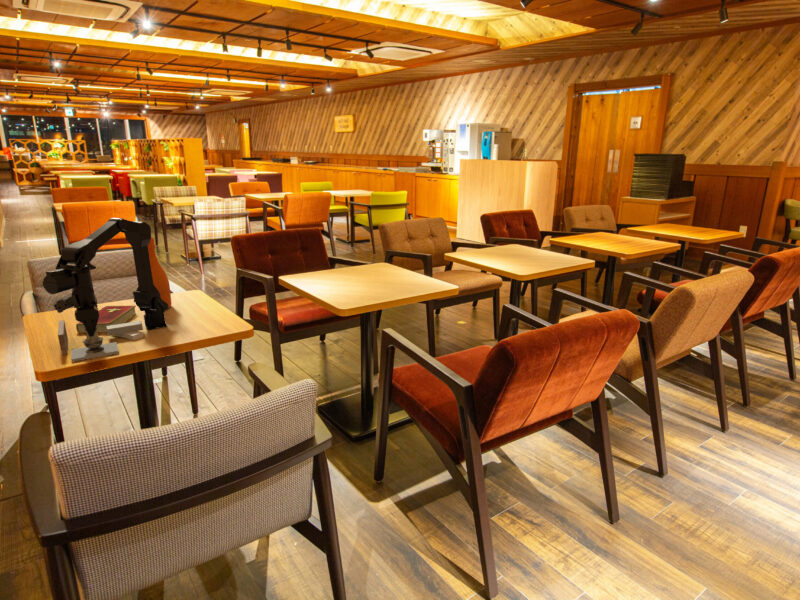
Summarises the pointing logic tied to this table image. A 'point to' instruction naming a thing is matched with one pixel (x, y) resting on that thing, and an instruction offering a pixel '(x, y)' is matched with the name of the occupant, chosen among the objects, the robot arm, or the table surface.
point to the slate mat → (81, 354)
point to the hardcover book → (110, 317)
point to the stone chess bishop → (93, 343)
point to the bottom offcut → (131, 335)
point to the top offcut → (124, 328)
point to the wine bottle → (159, 275)
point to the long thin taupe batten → (63, 337)
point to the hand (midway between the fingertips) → (91, 331)
